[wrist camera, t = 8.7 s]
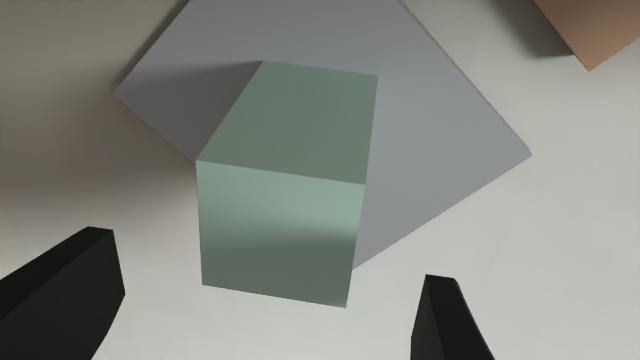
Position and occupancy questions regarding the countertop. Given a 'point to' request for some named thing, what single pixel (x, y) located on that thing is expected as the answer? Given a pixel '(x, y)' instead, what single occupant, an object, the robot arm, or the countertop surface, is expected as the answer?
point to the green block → (287, 184)
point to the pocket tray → (593, 26)
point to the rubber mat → (346, 55)
